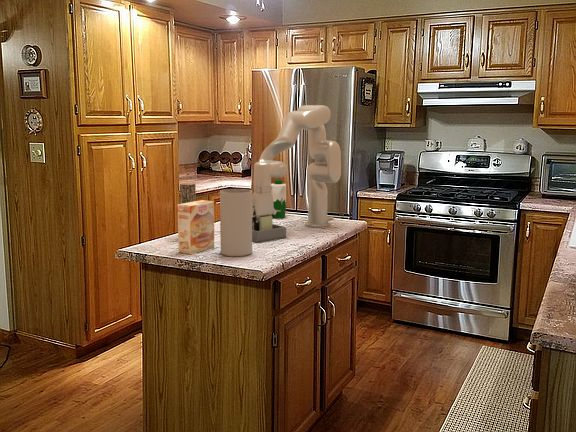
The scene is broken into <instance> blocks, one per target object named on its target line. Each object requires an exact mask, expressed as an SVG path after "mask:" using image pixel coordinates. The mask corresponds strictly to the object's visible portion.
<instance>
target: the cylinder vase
mask: <svg viewBox="0 0 576 432" xmlns="http://www.w3.org/2000/svg"><path fill="white" fill-rule="evenodd" d="M252 194H253V190H252V189H246V188H226V189H222V190H220V191H219V207H220V208H219V209H220V210H219V221H220V223H219V224H220V225H219V229H220V230H219V231H220V232H219V233H220V253H221V254H222V255H224V256H227V257H233V258H234V257H246V256H249V255H251V254H252V253H253V242H252Z"/></svg>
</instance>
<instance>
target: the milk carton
mask: <svg viewBox="0 0 576 432" xmlns="http://www.w3.org/2000/svg"><path fill="white" fill-rule="evenodd" d="M271 187H272V188H273V189H272V190H271V193H272V196H273V204H274V209H275V210H276V211H277V213H276V214H275V215H274V217H273V219H275V220H276V219H279V220H280V219H282V220H284V218H285V217H286V213H287V212H286V211H287V184H286V183H283V180H282V179H275V180H274V183H271Z"/></svg>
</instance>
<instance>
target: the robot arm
mask: <svg viewBox="0 0 576 432" xmlns="http://www.w3.org/2000/svg"><path fill="white" fill-rule="evenodd" d="M331 114H332V113H331V109H330V108H329V106H327V105H325V104H324V105H321V104H320V105H319V104H311V105H310V104H308V105H307V104H305V105H301V106H300V107H298V108H297V110H292V111H290V112H288V113H287V114H286V116H285V119H284V121H283V124H282V126H281V127H280V130H279V133H278V136H277V137H276V138H275V140H273V141H271V143H269V144H268V145H267V146H266V147H265V149H264V150H262V153H261V154H260V157H259V159H258V161H257V162H255V163H254V164H253V188H254V189H253V192H252V220H253V222H254V230H255V231H259V217H260V216H265V215H267V216H272V220H273V219H274V218H273V217H274V215H275V214H276V213H277V211H276V210H275V209H274V204H273V196H272V193H271V190H272V189H273V188H272V187H271V184H272V178H273V179H275V178H277V179H279V178H283V177H285V176H286V175H287V173H288V166H287V164H286V163H285V162H283V161H280V160H274V159H275V158H276V157H277V156H278V155H280V154H281V153H282V152H285V151H287V150H290V149H292V148H293V147H295V144H296V143H297V142H296V141H297V140H298V137H299V135H300V134H301V133H300V132H301V131H302V130H305V131H307V134H308V135H307V136H308V151H309V152H308V153H309V156H310V158H311V159H313V160H318V161H319V162H318V161H317V162H316V161H314V162H312V163H309V164H308V165H307V169H306V178H307V182H308V183H307V184H308V185H307V187H308V197H307V199H308V202H307V203H308V204H307V206H308V207H307V209H308V210H307V211H308V212H307V221H305V223H304V226H306V227H309V228H328V227H330V226H331V222H330V221H333V220H334V219H335V218H334V215H333V216H329V215H328V195H329V194H328V190H329V189H328V187H327V184H326V183H329V184H334V183H338V181H340V179H341V175H342V152H341V151H342V150H341V147H340V145H339V143H338V142H337V141H334V140H327V132H326V127H325V125H326V124H327V123H328V122H329V121H330V119H331ZM320 161H326V162H320ZM253 215H254V216H253ZM256 217H257V219H256Z"/></svg>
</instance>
